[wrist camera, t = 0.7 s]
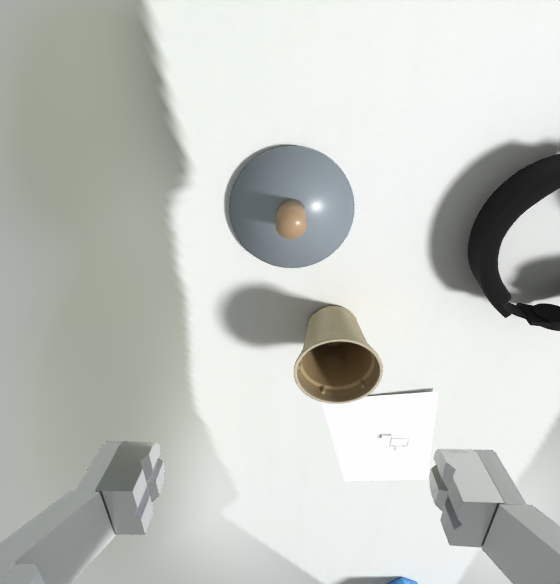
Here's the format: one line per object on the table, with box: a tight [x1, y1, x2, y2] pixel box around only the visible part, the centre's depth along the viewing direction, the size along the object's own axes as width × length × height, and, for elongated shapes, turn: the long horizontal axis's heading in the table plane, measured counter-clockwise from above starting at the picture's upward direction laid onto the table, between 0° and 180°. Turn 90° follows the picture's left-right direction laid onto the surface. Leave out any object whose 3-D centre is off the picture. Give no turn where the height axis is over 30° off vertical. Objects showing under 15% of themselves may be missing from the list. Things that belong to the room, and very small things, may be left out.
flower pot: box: [294, 306, 383, 404], centre depth 42 cm, size 9×9×9 cm
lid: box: [230, 146, 354, 268], centre depth 37 cm, size 13×13×4 cm
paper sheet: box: [321, 391, 439, 481], centre depth 58 cm, size 24×29×1 cm
